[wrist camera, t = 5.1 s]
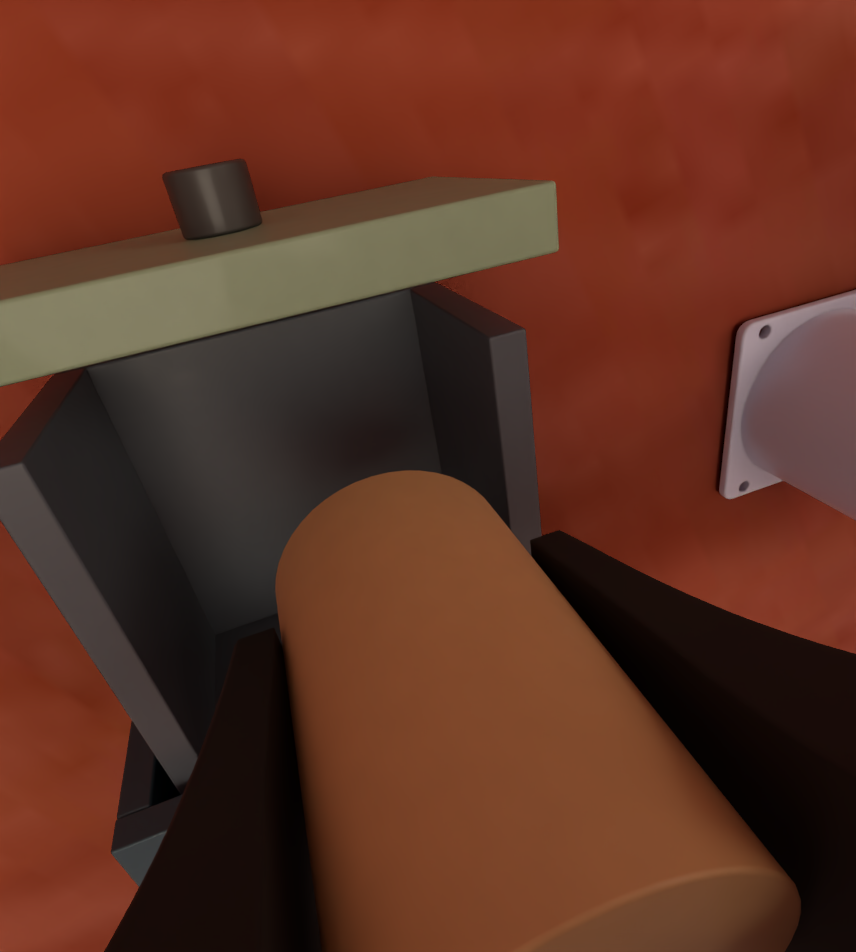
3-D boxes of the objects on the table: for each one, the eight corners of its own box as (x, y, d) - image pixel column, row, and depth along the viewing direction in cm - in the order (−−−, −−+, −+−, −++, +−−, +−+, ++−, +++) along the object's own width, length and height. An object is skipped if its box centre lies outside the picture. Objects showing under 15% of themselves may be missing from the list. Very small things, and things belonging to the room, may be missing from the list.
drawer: (-51, 215, 13) (-261, 249, 7) (426, 125, 15) (554, 97, 9) (179, 643, 20) (164, 834, 14) (485, 540, 22) (579, 670, 16)
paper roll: (491, 438, 11) (851, 795, 5) (512, 620, 14) (771, 1016, 7) (240, 513, 10) (272, 1075, 4) (312, 693, 13) (404, 1220, 6)
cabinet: (148, 605, 20) (109, 853, 13) (486, 496, 22) (616, 653, 15) (267, 822, 27) (286, 1063, 20) (516, 721, 29) (615, 903, 22)
